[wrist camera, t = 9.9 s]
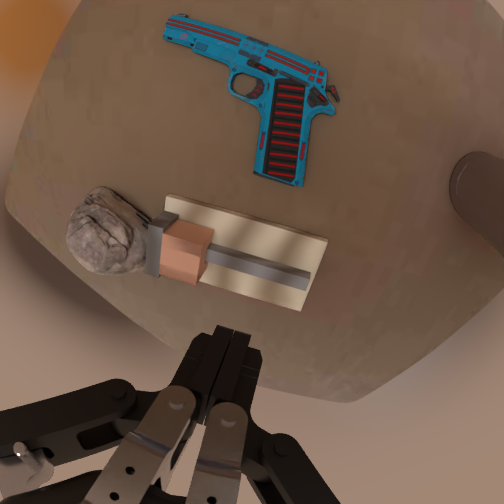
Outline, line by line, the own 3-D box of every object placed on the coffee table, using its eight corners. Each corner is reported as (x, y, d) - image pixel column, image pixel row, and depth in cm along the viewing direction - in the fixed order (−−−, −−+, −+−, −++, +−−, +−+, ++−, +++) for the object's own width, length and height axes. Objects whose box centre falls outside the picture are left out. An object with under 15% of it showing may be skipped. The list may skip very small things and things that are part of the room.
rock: (180, 230, 42) (146, 266, 33) (147, 285, 47) (115, 324, 39) (100, 171, 40) (53, 192, 31) (77, 231, 46) (38, 259, 37)
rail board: (327, 238, 38) (329, 261, 33) (300, 306, 44) (298, 334, 38) (170, 193, 39) (148, 208, 34) (162, 263, 45) (143, 285, 39)
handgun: (298, 191, 37) (356, 82, 30) (296, 198, 34) (359, 81, 27) (139, 118, 36) (180, 14, 29) (127, 120, 34) (170, 9, 27)
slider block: (214, 229, 39) (202, 245, 35) (206, 268, 42) (195, 286, 38) (177, 219, 39) (162, 233, 35) (173, 257, 42) (158, 274, 38)
